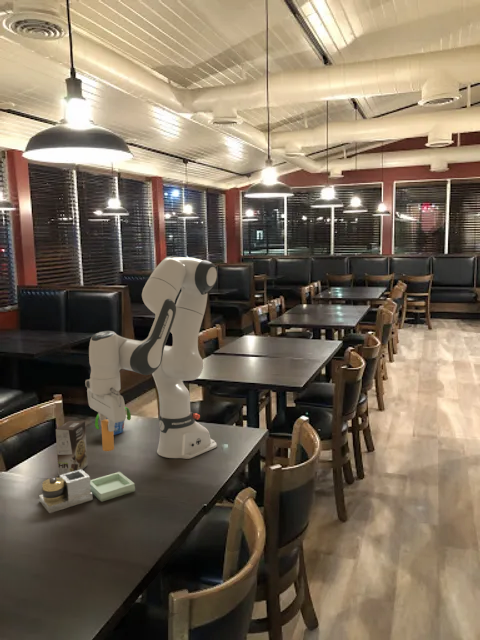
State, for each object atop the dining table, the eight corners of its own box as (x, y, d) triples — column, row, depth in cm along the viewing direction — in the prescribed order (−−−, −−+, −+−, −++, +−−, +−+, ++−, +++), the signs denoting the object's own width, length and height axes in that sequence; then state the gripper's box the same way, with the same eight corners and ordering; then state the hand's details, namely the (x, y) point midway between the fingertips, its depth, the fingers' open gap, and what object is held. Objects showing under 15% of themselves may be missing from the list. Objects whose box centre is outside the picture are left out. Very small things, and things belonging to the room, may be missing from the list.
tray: (119, 478, 175) (119, 471, 175) (134, 491, 166) (134, 483, 166) (87, 488, 169) (87, 481, 168) (101, 501, 160) (101, 494, 159)
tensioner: (81, 488, 168) (80, 464, 167) (92, 499, 161) (91, 474, 160) (39, 501, 161) (37, 476, 159) (48, 513, 153) (46, 487, 152)
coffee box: (75, 476, 177) (72, 430, 175) (57, 475, 179) (54, 428, 176) (88, 465, 186) (85, 420, 184) (71, 463, 187) (68, 419, 185)
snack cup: (101, 440, 209) (100, 415, 207) (90, 433, 217) (88, 409, 215) (137, 431, 218) (136, 407, 217) (125, 424, 227) (124, 401, 225)
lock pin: (111, 445, 168) (110, 418, 166) (116, 449, 165) (114, 421, 164) (100, 448, 166) (99, 420, 164) (105, 452, 163) (104, 423, 162)
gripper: (130, 390, 156) (132, 435, 158) (102, 376, 172) (104, 418, 174) (110, 394, 152) (112, 440, 154) (83, 380, 168) (85, 422, 170)
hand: (107, 428), depth 164 cm, fingers closed on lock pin, 3 cm apart
